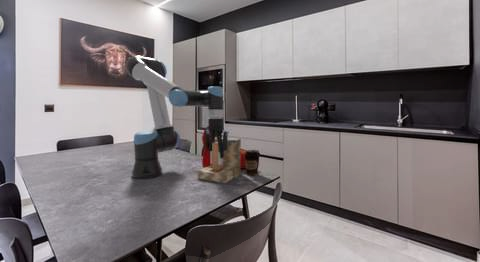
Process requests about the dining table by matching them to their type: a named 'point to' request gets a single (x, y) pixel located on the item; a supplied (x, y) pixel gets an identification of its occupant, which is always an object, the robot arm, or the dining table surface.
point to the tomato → (243, 158)
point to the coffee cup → (252, 162)
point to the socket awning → (225, 163)
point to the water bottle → (205, 153)
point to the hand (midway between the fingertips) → (216, 163)
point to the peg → (215, 156)
